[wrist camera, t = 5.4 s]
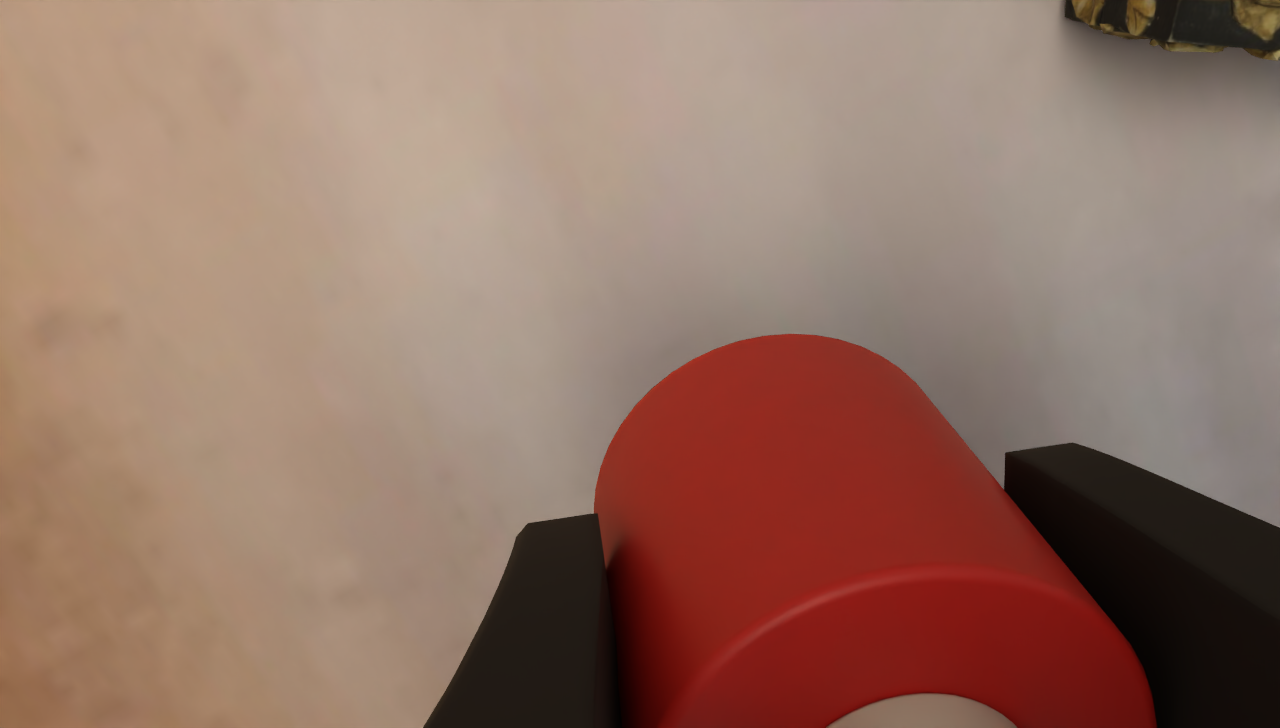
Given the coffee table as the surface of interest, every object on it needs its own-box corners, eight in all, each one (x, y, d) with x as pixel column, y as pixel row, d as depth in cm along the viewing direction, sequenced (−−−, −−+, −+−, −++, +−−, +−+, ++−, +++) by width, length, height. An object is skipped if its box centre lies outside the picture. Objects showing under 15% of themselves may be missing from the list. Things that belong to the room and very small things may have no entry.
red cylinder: (829, 255, 10) (1090, 555, 6) (1011, 519, 12) (1341, 934, 7) (517, 476, 11) (525, 915, 6) (727, 703, 12) (859, 1201, 8)
